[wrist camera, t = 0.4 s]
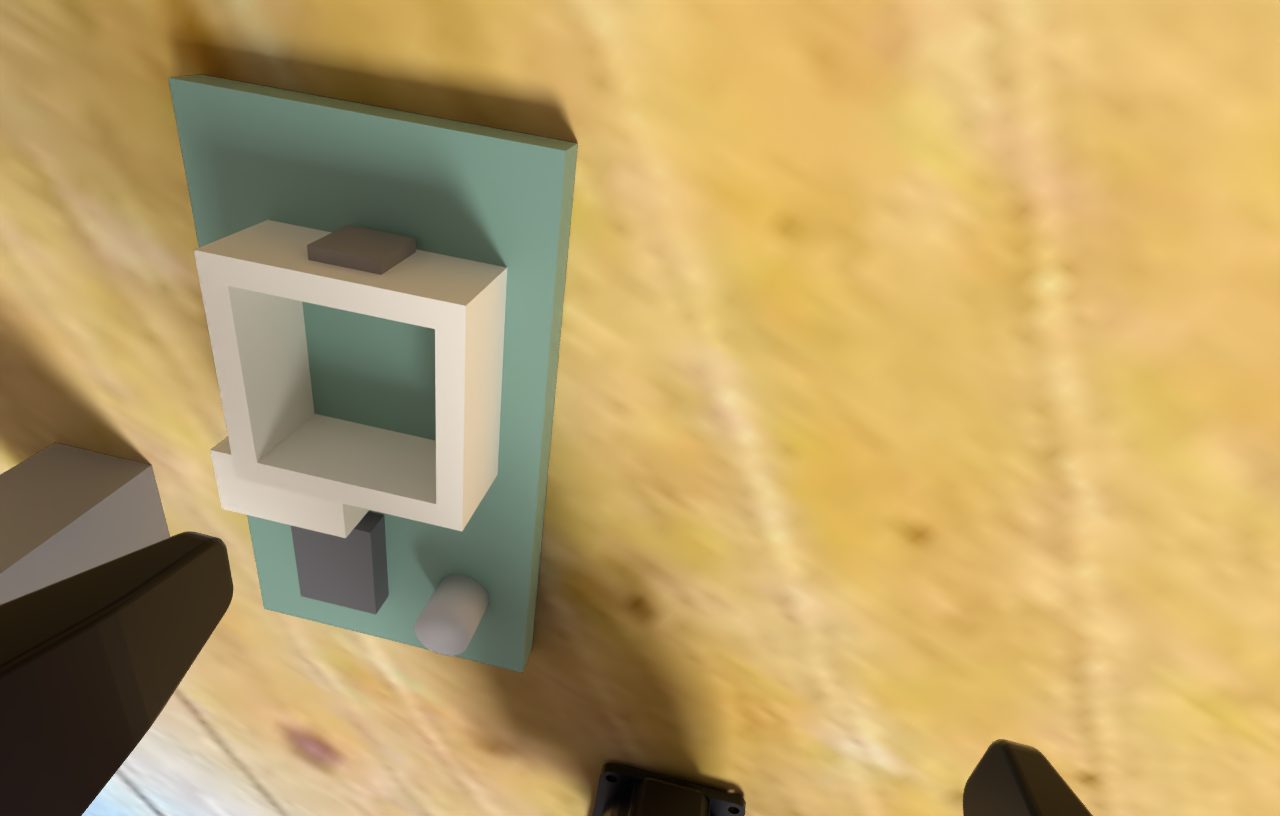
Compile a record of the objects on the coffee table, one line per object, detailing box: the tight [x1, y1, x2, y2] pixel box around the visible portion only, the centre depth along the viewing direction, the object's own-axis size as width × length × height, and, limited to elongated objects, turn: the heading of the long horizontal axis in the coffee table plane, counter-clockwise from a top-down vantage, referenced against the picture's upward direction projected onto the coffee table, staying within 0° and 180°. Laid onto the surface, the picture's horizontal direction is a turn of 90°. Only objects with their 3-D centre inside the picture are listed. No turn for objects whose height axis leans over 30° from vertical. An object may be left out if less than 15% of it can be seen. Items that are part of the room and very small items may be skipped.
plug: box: [0, 443, 170, 604], centre depth 26 cm, size 4×4×9 cm
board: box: [169, 74, 578, 673], centre depth 23 cm, size 20×11×4 cm, turn 172°
